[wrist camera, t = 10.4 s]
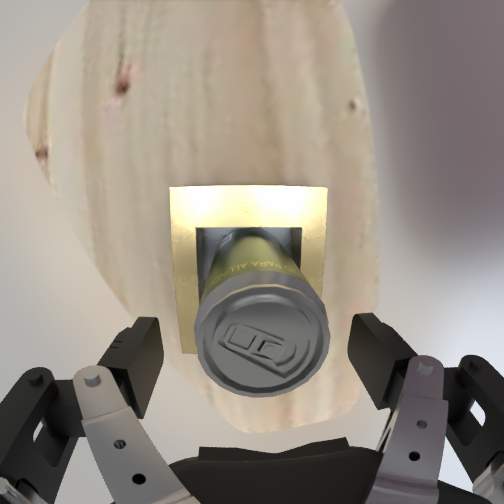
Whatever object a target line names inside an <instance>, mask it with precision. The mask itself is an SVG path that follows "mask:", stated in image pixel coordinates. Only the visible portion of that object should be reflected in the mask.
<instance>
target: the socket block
mask: <svg viewBox="0 0 504 504" xmlns="http://www.w3.org/2000/svg"><path fill="white" fill-rule="evenodd" d="M170 211H171V236H172V254H173V268H174V281H175V293H176V303H177V313H178V322H179V331H180V339H181V347H182V353H187V354H198V353H197V347H196V345H195V337H194V323H195V319H196V316H197V312H198V308H199V305H200V301H201V298H202V295H203V291H204V288H205V285H206V281H207V278H208V275H209V271H210V268H211V265H212V262H213V258H214V255H215V252H216V249H217V247H218V246H219V244H220V243H221V241H222V240H223V239H224V238H225V237H226V236H228V235H229V234H230V233H232V232H233V231H236V230H239V229H242V228H258V229H262V230H265V231H267V232H269V233H270V234H272V235H273V236H275V237H276V238H277V239H278V241H279V242H280V243H281V245H282V246H283V248H284V249H285V250H286V252H287V253H288V254H289V256H290V257H291V259H292V260H293V261H294V263H295V264H296V265H297V267H298V268H299V270H300V271H301V272H302V274H303V275H304V277H305V278H306V279H307V281H308V282H309V284H310V285H311V286H312V288H313V289H314V291H315V292H316V294H317V295H318V296H319V298H320V299H321V290H322V279H323V266H324V252H325V235H326V214H327V188H323V187H303V186H258V185H230V186H185V187H170Z"/></svg>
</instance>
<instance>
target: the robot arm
mask: <svg viewBox="0 0 504 504" xmlns="http://www.w3.org/2000/svg"><path fill="white" fill-rule="evenodd" d="M348 357H349V360H350V362H351V363H352V365H353V367H354V369H355V370H356V372H357V374H358V376H359V377H360V379H361V381H362V383H363V384H364V386H365V388H366V390H367V391H368V393H369V395H370V396H371V399H372V400H373V402H374V404H375V406H376V408H377V409H378V410H381V409H384V408H390V410H391V411H390V413H389V416H388V418H387V421H386V424H385V427H384V429H383V432H382V435H381V437H380V440H379V442H378V445H377V448H376V450H372V449H368V448H363V447H354V446H349V444H348V441H347V439H346V437H344V438H338V439H333V440H326V441H321V442H313V443H309V444H307V445H304V446H301V447H297V448H294V449H291V450H287V451H284V452H281V453H266V452H259V451H252V450H247V449H241V448H221V447H219V448H218V447H199V456H198V457H191V458H187V459H183V460H180V461H177V462H175V463H172V464H170V465H167V463H166V462H165V460H164V459H163V458H162V456H161V455H160V453H159V452H158V450H157V449H156V447H155V446H154V444H153V443H152V441H151V440H150V438H149V437H148V435H147V433H146V432H145V430H144V428H143V427H142V425H141V423H140V422H139V420H138V419H143V418H144V415H145V412H146V409H147V406H148V404H149V401H150V398H151V395H152V392H153V389H154V386H155V384H156V381H157V378H158V376H159V373H160V370H161V367H162V364H163V360H164V350H163V344H162V338H161V332H160V326H159V321H158V318H156V317H138V319H137V320H136V322H135V323H134V325H133V326H132V328H128V327H127V328H126V329H124V330H123V331H121V332H120V333H119V334H118V335H117V336H116V337H115V339H114V341H113V342H112V343H111V345H110V347H109V348H108V349H107V351H106V352H105V353H104V355H103V356H102V358H101V359H100V361H99V362H98V364H97V365H94V366H88V367H85V368H82V369H81V370H79V371H78V372H77V373H76V374H75V375H74V377H73V380H55V379H54V376H53V374H52V372H51V371H50V370H49V369H47V368H44V367H36V368H32V369H30V370H28V371H26V372H25V373H24V374H23V375H22V376H21V377H20V378H19V380H18V381H17V382H16V383H15V385H14V386H13V387H12V389H11V390H10V391H9V393H8V394H7V395H6V397H5V398H4V399H3V401H2V402H1V403H0V504H54V502H55V499H56V496H57V493H58V490H59V487H60V484H61V482H62V479H63V476H64V474H65V471H66V468H67V465H68V463H69V460H70V458H71V455H72V453H73V450H74V448H75V445H76V443H77V440H78V438H79V437H87V440H88V443H89V445H90V448H91V450H92V453H93V455H94V458H95V461H96V463H97V465H98V468H99V470H100V472H101V475H102V476H103V479H104V481H105V483H106V485H107V487H108V489H109V491H110V493H111V495H112V497H113V499H114V502H113V503H111V504H504V377H503V376H502V375H500V374H499V372H498V371H497V370H495V368H494V367H493V366H492V365H490V363H489V362H488V361H486V360H485V359H484V358H482V357H480V356H477V355H466V356H464V357H463V358H462V359H461V361H460V364H459V366H458V367H452V368H451V367H450V368H444V367H443V364H442V363H441V362H440V361H439V360H437V359H436V358H434V357H431V356H427V355H417V353H416V352H415V351H414V350H413V349H412V348H411V347H410V346H409V345H408V344H407V343H406V342H405V341H403V338H402V337H401V336H400V335H398V333H397V332H396V331H395V330H394V329H393V328H392V327H390V326H388V325H387V324H385V323H381V321H380V320H379V319H378V318H377V317H376V316H375V315H374V314H373V313H361V314H355V315H354V317H353V320H352V325H351V331H350V336H349V342H348ZM475 400H476V402H477V403H478V404H479V405H480V407H481V408H482V409H483V411H484V412H485V422H484V425H483V426H481V425H480V424H479V422H478V421H477V419H476V418H475V417H474V415H473V414H472V413H471V411H470V409H471V407H472V405H473V404H474V402H475ZM40 421H41V422H42V424H43V427H42V428H41V430H40V432H39V434H38V436H37V438H36V440H35V442H34V440H33V434H34V431H35V429H36V428H37V426H38V424H39V422H40ZM445 436H446V437H447V439H448V441H449V443H450V444H451V446H452V447H453V449H454V451H455V453H456V454H457V456H458V458H459V460H460V461H461V463H462V465H463V467H464V468H465V470H466V472H467V474H468V476H469V478H470V480H471V481H472V483H473V493H471V492H469V491H466V490H463V489H460V488H457V487H455V486H452V485H450V484H448V483H445V482H443V481H440V480H438V477H439V472H440V467H441V461H442V455H443V450H444V442H445Z"/></svg>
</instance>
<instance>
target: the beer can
mask: <svg viewBox="0 0 504 504" xmlns="http://www.w3.org/2000/svg"><path fill="white" fill-rule="evenodd" d="M194 337H195V345H196V347H197V353H198V359H199V361H200V363H201V365H202V367H203V369H204V371H205V372H206V374H207V375H208V376H209V377H210V378H211V379H212V380H213V381H214V382H215V383H217V384H218V385H219V386H220V387H222V388H224V389H226V390H228V391H231V392H233V393H235V394H238V395H243V396H249V397H273V396H277V395H280V394H283V393H287V392H290V391H292V390H294V389H296V388H297V387H299V386H301V385H302V384H304V383H306V382H307V381H308V380H309V379H310V378H311V377H312V376H313V375H314V374H315V373H316V372H317V371H318V370H319V369H320V367H321V366H322V364H323V362H324V360H325V358H326V356H327V354H328V349H329V342H330V332H329V328H328V318H327V314H326V310H325V306H324V304H323V302H322V301H321V299H320V298H319V296H318V295H317V294H316V292H315V291H314V289H313V288H312V286H311V285H310V284H309V282H308V281H307V279H306V278H305V277H304V275H303V274H302V272H301V271H300V270H299V268H298V267H297V265H296V264H295V263H294V261H293V260H292V259H291V257H290V256H289V254H288V253H287V252H286V250H285V249H284V248H283V246H282V245H281V243H280V242H279V241H278V239H277V238H276V237H275V236H273V235H272V234H270V233H269V232H267V231H265V230H262V229H258V228H242V229H239V230H236V231H233V232H232V233H230V234H229V235H228V236H226V237H225V238H224V239H223V240H222V241H221V243H220V244H219V246H218V247H217V249H216V252H215V255H214V258H213V262H212V265H211V268H210V271H209V275H208V278H207V281H206V285H205V288H204V291H203V295H202V298H201V301H200V305H199V308H198V312H197V316H196V319H195V323H194Z"/></svg>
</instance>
